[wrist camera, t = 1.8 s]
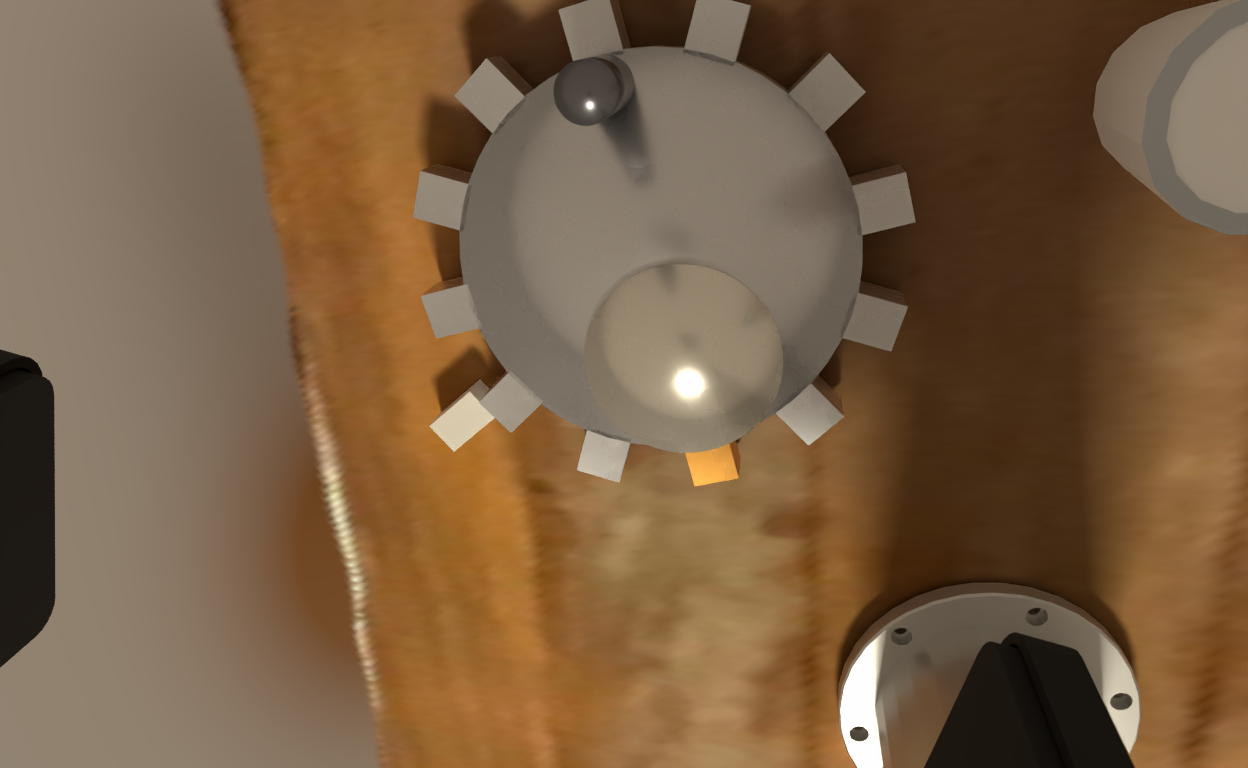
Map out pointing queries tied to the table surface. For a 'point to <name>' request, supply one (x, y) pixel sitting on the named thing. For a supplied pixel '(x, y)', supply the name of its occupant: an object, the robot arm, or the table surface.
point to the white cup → (1183, 112)
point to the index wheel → (663, 241)
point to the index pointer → (463, 417)
